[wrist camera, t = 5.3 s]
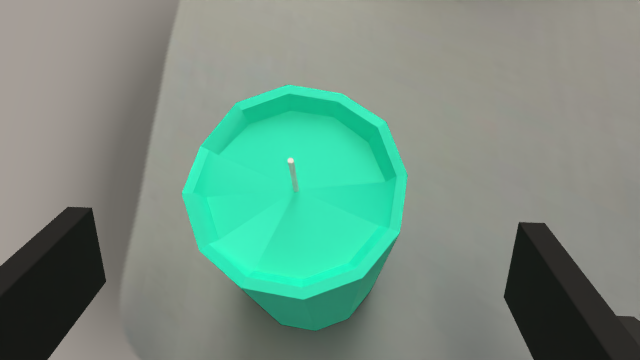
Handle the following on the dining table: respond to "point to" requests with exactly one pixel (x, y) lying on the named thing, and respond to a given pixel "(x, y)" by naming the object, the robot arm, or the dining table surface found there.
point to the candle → (298, 202)
